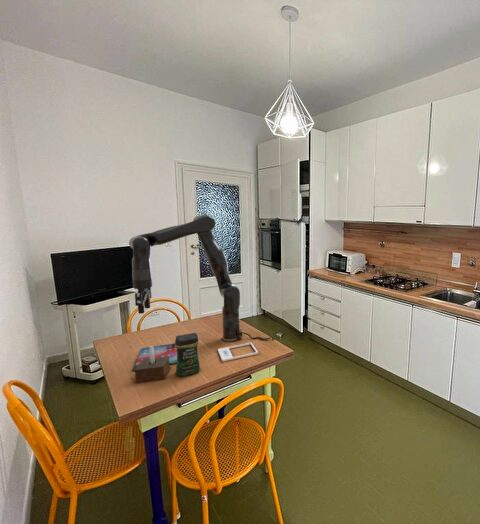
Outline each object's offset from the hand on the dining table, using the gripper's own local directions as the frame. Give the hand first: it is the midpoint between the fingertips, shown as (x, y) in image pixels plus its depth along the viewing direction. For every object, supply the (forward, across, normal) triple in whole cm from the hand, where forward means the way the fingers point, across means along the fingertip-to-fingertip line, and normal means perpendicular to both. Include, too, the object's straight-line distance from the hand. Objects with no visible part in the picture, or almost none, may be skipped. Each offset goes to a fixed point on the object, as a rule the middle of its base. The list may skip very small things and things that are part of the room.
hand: (144, 310), depth 142 cm
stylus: (+26, -15, -6) cm, 31 cm away
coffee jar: (+27, -16, -21) cm, 38 cm away
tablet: (+26, +5, -4) cm, 27 cm away
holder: (+26, -15, -6) cm, 31 cm away
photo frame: (+26, -1, -42) cm, 50 cm away
